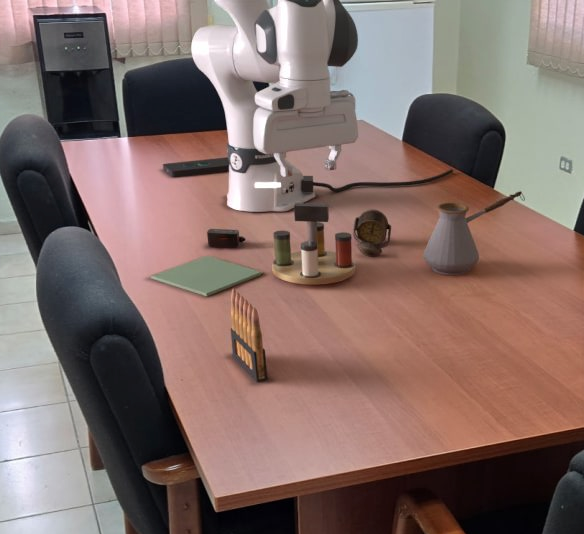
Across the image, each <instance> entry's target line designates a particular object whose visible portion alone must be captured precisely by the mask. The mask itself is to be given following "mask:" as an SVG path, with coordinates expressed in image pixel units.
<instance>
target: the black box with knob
mask: <svg viewBox="0 0 584 534" xmlns="http://www.w3.org/2000/svg"><path fill="white" fill-rule="evenodd" d="M206 237H207V245H208V247H210V248H223V249H237V248H238V247H239V246H240V244H243V243H244V242H246V238H245V237H244V236H242V235H241V236H240V231H239V230H238V229H226V228H225V229H224V228H209V229H208V230H207V231H206Z"/></svg>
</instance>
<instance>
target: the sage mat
mask: <svg viewBox="0 0 584 534" xmlns="http://www.w3.org/2000/svg"><path fill="white" fill-rule="evenodd" d="M262 275H263V271H261V270H257V269H253V268H250V267H247V266H243V265H240V264H237V263H233V262H230V261H227V260H224V259H220V258H217V257H214V256H210V255H206V256H202V257H200V258H197V259H194V260H191V261H189V262H186V263H183V264H181V265H178V266H174V267H172V268H169V269H166V270H164V271H161V272H157V273H155V274H152V275H150V279H152V280H155V281H157V282H160V283H163V284H166V285H170V286H172V287H175V288H176V287H177V288H180V289H182V290H186V291H188V292H192V293H195V294H197V295H201V296H203V297H209V296H211V295H214V294H217V293H219V292H221V291H224V290H226V289H230V288H232V287H234V286H236V285H239V284H242V283H244V282H247V281H250V280H252V279H255V278H257V277H260V276H262Z"/></svg>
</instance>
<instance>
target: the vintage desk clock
mask: <svg viewBox="0 0 584 534" xmlns="http://www.w3.org/2000/svg"><path fill="white" fill-rule="evenodd" d="M391 235H392V225H391V224H389V221H388V218H387V216H386V215H385V214H384V213H383V212H382V211H380V210H378V209H367V210H363V212H362V213H361V214H360V215H359V216H357V217H355V219H354V222H353V229H352V237H353V238H354V239H355V240H356V242H357V243H358V245H357V249H358V251H359V252H360V253H361V254H362V255H364V256H367V257H377V256H381V255H382V253H383V250H382V249H384V248H386V247H387V246H389V245H390V241H391ZM386 238H387V240H386ZM385 240H386V241H385ZM384 241H385V242H384Z"/></svg>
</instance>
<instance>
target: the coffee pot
mask: <svg viewBox="0 0 584 534" xmlns="http://www.w3.org/2000/svg"><path fill="white" fill-rule="evenodd" d="M522 197H523V198H522ZM515 198H520V199H521V201H523V202H524V201H525V200H526V197H525V195H524V194H523V192H522V190H520V191H516V192H515V193H514V194H509V196H507V197H504V198H500V199H499V200H497V201H495V202H494V203H492V204H490V205H489V206H486V207H485V208H484V209H482V210H480V211H477V212H476V213H474V214H471V215H470V216H467V212H469V210H470V207H469V206H468V205H467V204H463V203H460V202H443V203H439V204H438V205H437V206H436V210H437V211H438V214H439V217H438V219H437V222H436V225H435V226H434V229H433V232H432V233H431V236H430V238H429V240H428V243H427V244H426V246H425V249H424V251H423V256H422V257H423V259H424V261H425V263H426V264H427V265H428V266H429V267H430V268H431V270H432V271H434V272H435V273H437V274H440V275H446V276H460V275H464V274H467V273H468V272H470V270H471V269H473V268H474V267H475V266H476V265H477V263H478V261H479V259H480V254H479V251H478V248H477V245H476V243H475V240H474V238H473V235H472V232H471V230H470V226H469V224H468V223H470V222H471V221H472V222H473V220H475V219H477V218H479V217H481V216H483V215H485V214H487V213H489V212H492V211H495V210H496V209H499V208H501V207H503V206H505V205H506V204H507V203H509V202H511V201H514V199H515ZM466 216H467V217H466Z"/></svg>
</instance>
